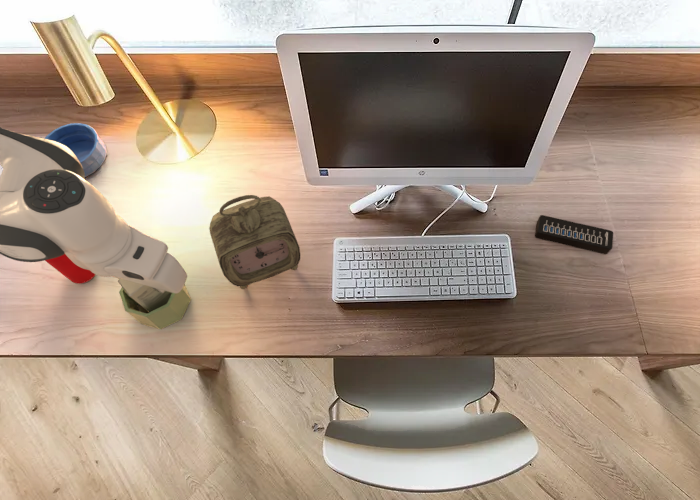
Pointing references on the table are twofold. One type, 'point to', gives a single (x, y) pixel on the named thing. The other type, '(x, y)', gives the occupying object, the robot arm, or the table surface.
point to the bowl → (81, 144)
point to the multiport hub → (574, 234)
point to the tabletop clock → (253, 240)
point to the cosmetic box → (145, 295)
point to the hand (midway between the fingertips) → (144, 283)
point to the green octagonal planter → (158, 309)
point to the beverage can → (71, 269)
